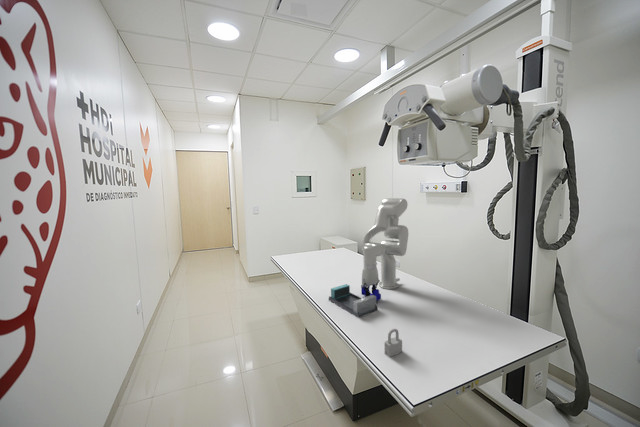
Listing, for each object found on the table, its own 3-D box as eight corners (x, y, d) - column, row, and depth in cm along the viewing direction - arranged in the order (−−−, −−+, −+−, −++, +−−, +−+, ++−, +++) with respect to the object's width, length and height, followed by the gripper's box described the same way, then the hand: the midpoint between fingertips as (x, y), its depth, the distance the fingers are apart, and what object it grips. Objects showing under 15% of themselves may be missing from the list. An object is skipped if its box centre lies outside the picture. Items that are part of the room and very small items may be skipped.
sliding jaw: (346, 293, 165) (346, 284, 164) (349, 294, 162) (349, 285, 162) (331, 297, 158) (330, 288, 158) (334, 299, 156) (333, 290, 155)
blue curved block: (381, 298, 156) (380, 289, 155) (375, 301, 153) (375, 291, 152) (366, 292, 166) (366, 283, 165) (361, 294, 163) (361, 285, 162)
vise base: (346, 294, 167) (346, 283, 166) (377, 310, 144) (377, 297, 143) (328, 300, 159) (328, 288, 158) (358, 317, 136) (358, 303, 136)
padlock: (396, 347, 111) (396, 324, 110) (403, 352, 107) (403, 329, 106) (383, 352, 107) (383, 329, 106) (390, 358, 104) (390, 334, 103)
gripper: (375, 261, 165) (376, 289, 167) (355, 267, 156) (356, 297, 158) (384, 264, 159) (385, 293, 161) (364, 271, 149) (365, 301, 152)
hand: (370, 294), depth 159 cm, fingers closed on blue curved block, 4 cm apart
